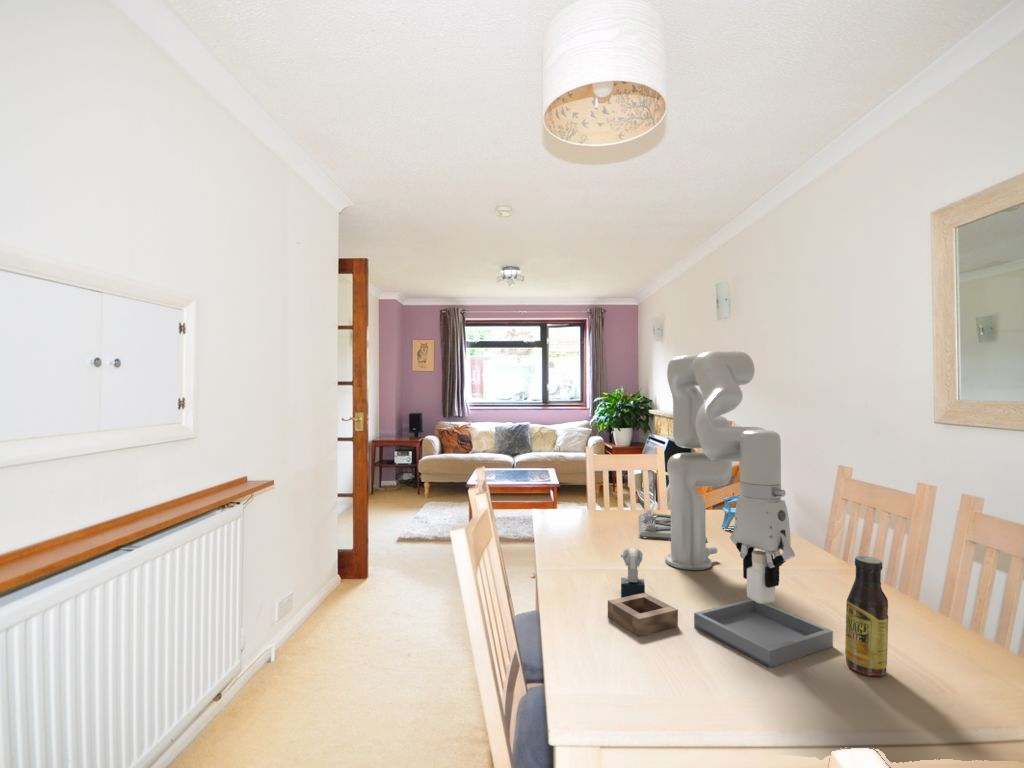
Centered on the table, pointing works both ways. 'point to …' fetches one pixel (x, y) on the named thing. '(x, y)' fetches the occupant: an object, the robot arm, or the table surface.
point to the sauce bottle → (867, 620)
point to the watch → (632, 573)
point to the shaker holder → (642, 614)
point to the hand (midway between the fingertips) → (760, 580)
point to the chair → (729, 512)
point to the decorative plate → (655, 525)
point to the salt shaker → (759, 580)
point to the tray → (763, 631)
